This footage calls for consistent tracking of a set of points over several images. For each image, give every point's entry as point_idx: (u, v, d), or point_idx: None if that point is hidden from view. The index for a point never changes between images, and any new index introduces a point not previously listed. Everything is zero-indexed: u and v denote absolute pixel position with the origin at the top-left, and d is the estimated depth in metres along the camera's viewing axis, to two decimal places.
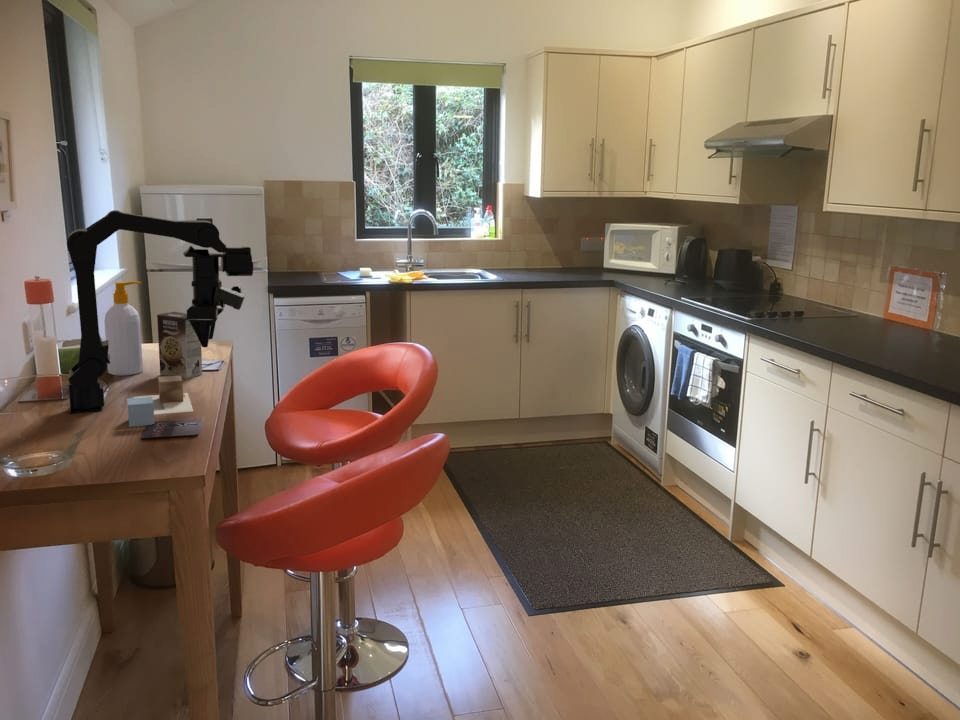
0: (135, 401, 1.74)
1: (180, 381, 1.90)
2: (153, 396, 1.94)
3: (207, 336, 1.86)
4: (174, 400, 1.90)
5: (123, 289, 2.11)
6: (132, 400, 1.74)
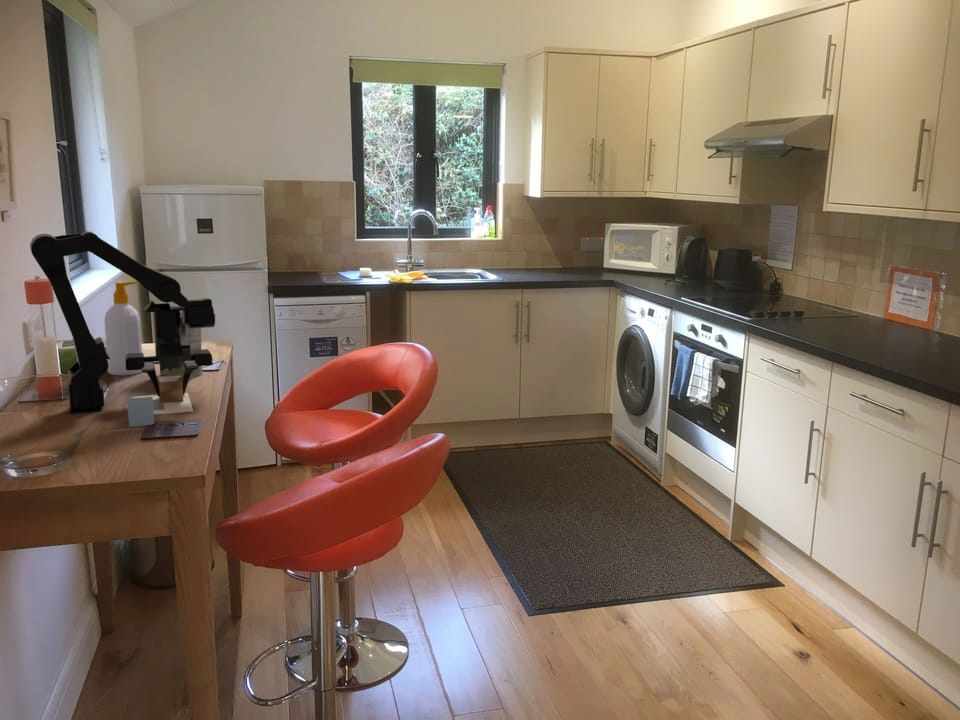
0: (135, 401, 1.74)
1: (180, 381, 1.90)
2: (153, 396, 1.94)
3: (154, 386, 1.89)
4: (174, 400, 1.90)
5: (123, 289, 2.11)
6: (132, 400, 1.74)
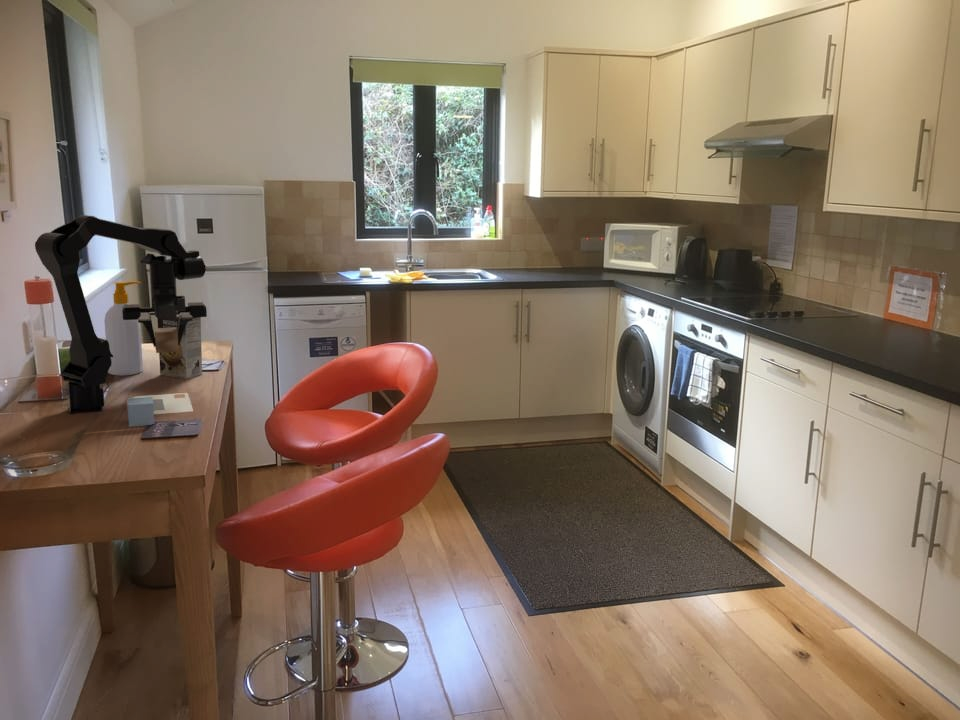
0: (135, 401, 1.74)
1: (175, 332, 1.96)
2: (153, 396, 1.94)
3: (150, 336, 1.96)
4: (169, 350, 1.97)
5: (123, 289, 2.11)
6: (132, 400, 1.74)
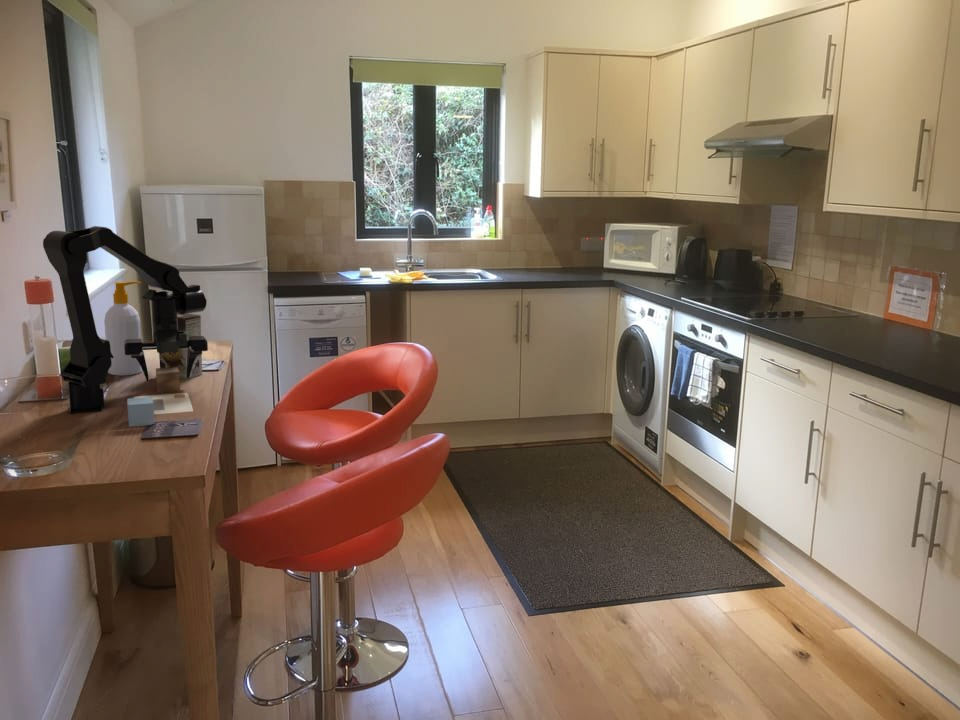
0: (135, 401, 1.74)
1: (177, 372, 1.99)
2: (153, 396, 1.94)
3: (143, 371, 1.97)
4: (171, 390, 1.99)
5: (123, 289, 2.11)
6: (132, 400, 1.74)
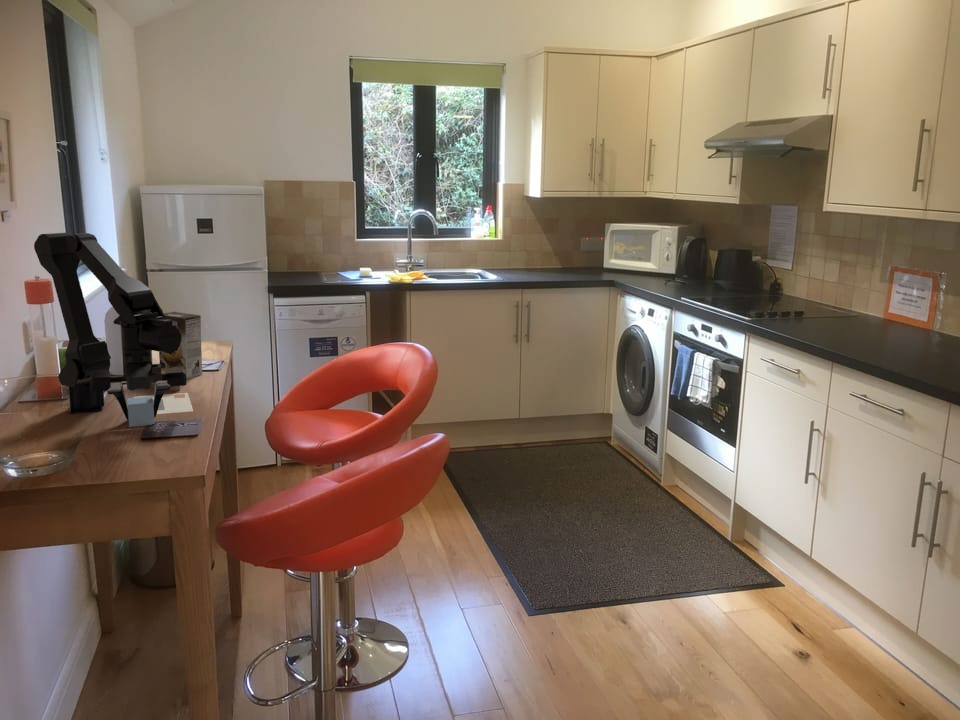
0: (135, 400, 1.74)
1: None
2: (153, 396, 1.94)
3: (122, 408, 1.72)
4: (171, 390, 1.99)
5: None
6: (132, 400, 1.74)
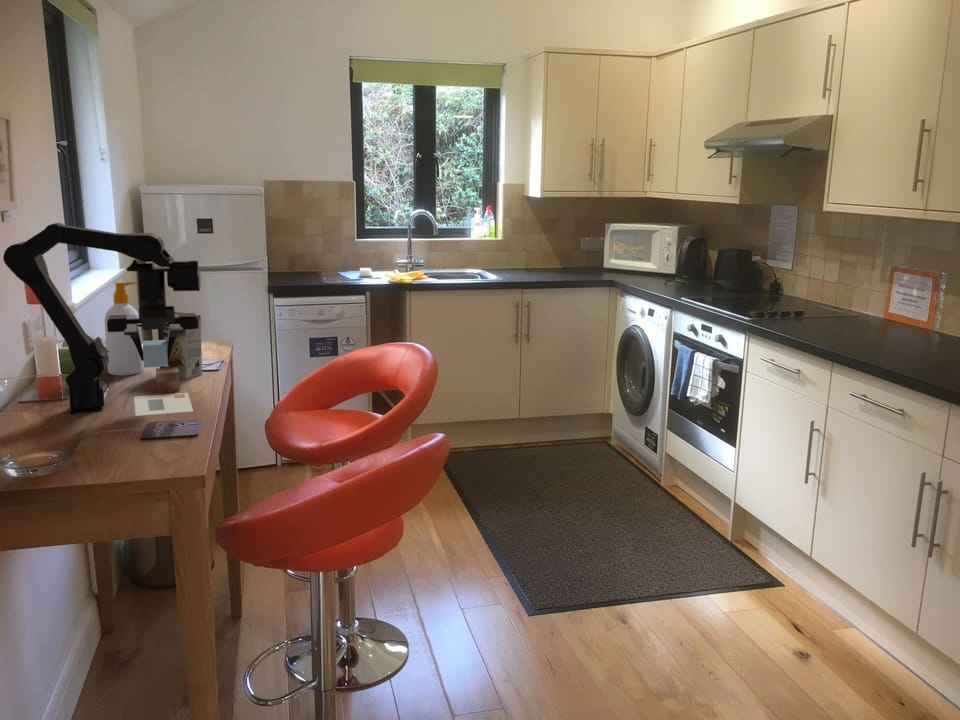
0: (150, 342, 1.84)
1: (177, 372, 1.99)
2: (153, 396, 1.94)
3: (138, 349, 1.82)
4: (171, 390, 1.99)
5: (123, 289, 2.11)
6: (147, 342, 1.84)
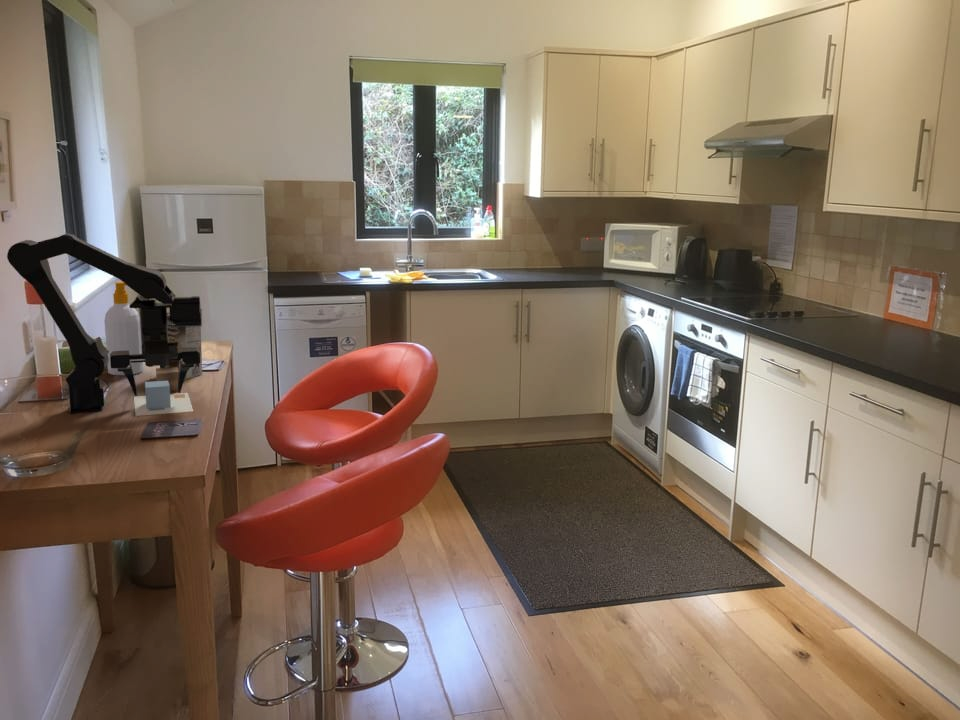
0: (152, 384, 1.86)
1: (177, 372, 1.99)
2: None
3: (131, 385, 1.84)
4: (171, 390, 1.99)
5: (123, 289, 2.11)
6: (149, 384, 1.86)
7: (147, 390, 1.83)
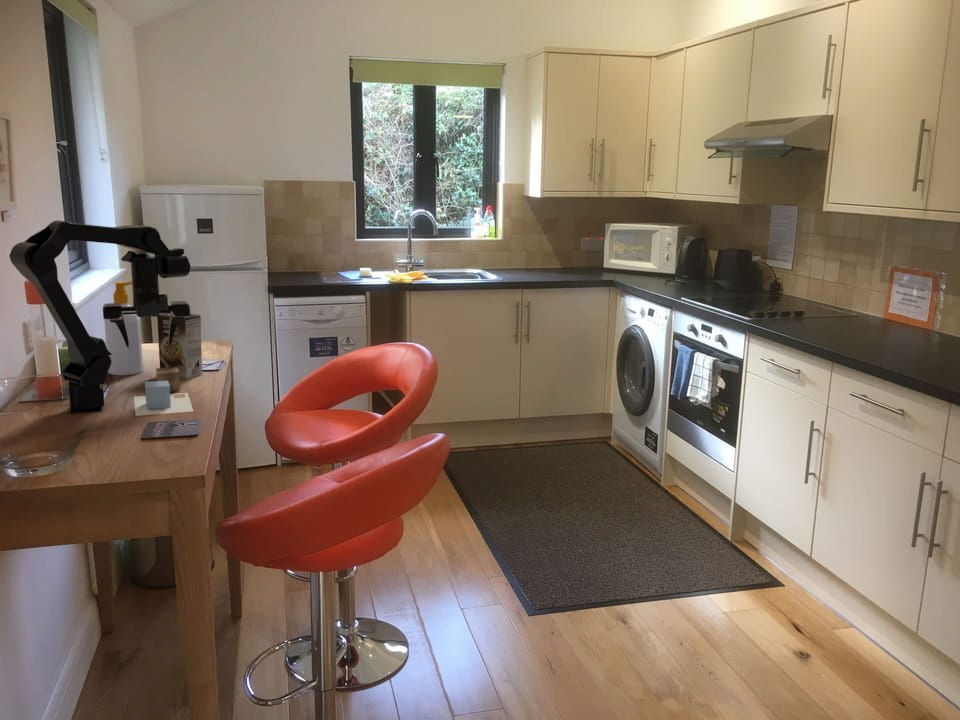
0: (152, 384, 1.86)
1: (177, 372, 1.99)
2: None
3: (123, 336, 1.90)
4: (171, 390, 1.99)
5: (123, 289, 2.11)
6: (149, 384, 1.86)
7: (147, 390, 1.83)
